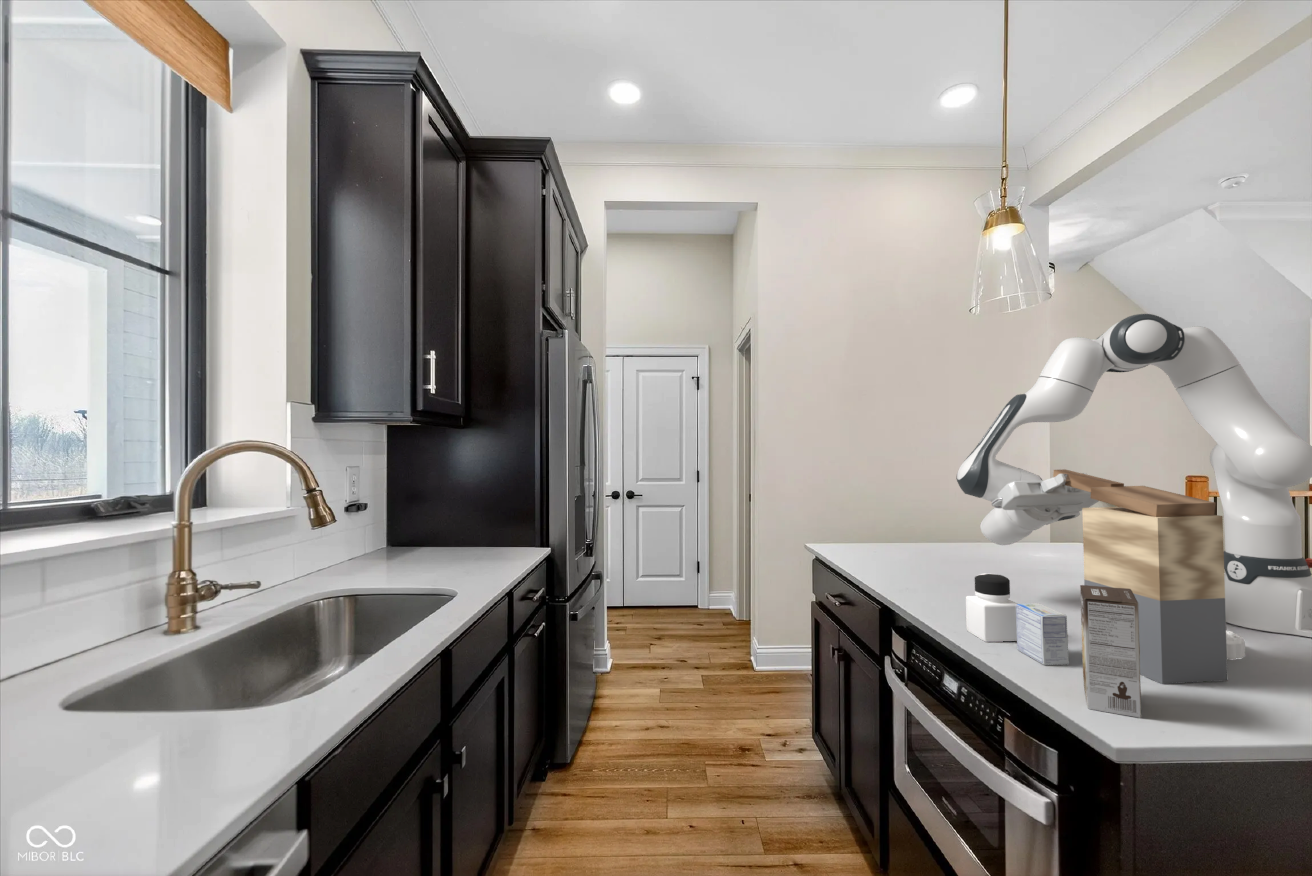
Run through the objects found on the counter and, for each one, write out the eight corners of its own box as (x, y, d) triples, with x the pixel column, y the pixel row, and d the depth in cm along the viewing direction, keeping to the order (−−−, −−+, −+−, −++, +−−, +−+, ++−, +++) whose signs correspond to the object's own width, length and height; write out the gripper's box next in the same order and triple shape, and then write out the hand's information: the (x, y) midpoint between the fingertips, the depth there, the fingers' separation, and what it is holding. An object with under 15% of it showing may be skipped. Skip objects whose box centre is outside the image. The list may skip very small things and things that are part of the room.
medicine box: (1069, 665, 101) (1068, 614, 101) (1043, 666, 101) (1041, 615, 102) (1040, 649, 109) (1039, 602, 109) (1016, 650, 109) (1014, 602, 109)
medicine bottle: (1022, 641, 114) (1020, 579, 114) (984, 642, 114) (983, 579, 114) (1001, 630, 121) (999, 571, 121) (965, 630, 121) (964, 571, 121)
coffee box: (1081, 686, 93) (1078, 583, 93) (1134, 695, 89) (1131, 588, 90) (1086, 709, 85) (1083, 596, 85) (1144, 719, 82) (1140, 602, 82)
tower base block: (1143, 648, 109) (1140, 577, 109) (1227, 680, 94) (1224, 598, 94) (1086, 650, 108) (1084, 579, 108) (1162, 683, 93) (1159, 600, 93)
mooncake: (1181, 658, 104) (1180, 638, 104) (1142, 637, 116) (1141, 618, 116) (1264, 663, 101) (1263, 642, 101) (1215, 640, 113) (1215, 621, 113)
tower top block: (1140, 577, 109) (1138, 506, 109) (1224, 598, 94) (1222, 515, 94) (1084, 579, 108) (1082, 507, 108) (1159, 600, 93) (1157, 517, 93)
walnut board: (1081, 480, 122) (1082, 468, 121) (1214, 514, 95) (1215, 499, 95) (1035, 482, 121) (1036, 470, 121) (1155, 516, 94) (1157, 501, 94)
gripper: (982, 493, 130) (1019, 463, 118) (1071, 491, 131) (1116, 461, 119) (992, 520, 127) (1031, 492, 115) (1083, 517, 128) (1130, 489, 116)
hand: (1075, 476), depth 117 cm, fingers closed on walnut board, 2 cm apart
